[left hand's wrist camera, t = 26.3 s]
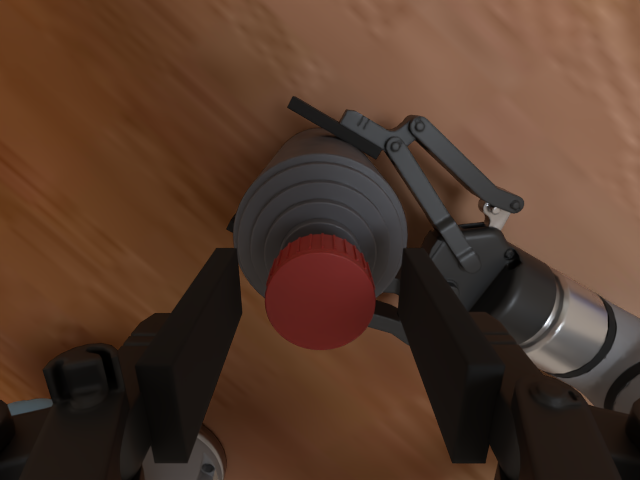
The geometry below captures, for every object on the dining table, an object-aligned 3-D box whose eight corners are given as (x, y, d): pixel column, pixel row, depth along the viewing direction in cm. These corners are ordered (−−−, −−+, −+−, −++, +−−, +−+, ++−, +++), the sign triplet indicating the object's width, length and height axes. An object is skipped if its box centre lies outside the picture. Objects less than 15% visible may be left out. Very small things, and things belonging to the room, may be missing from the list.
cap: (248, 276, 14) (239, 301, 13) (323, 211, 14) (323, 227, 12) (317, 339, 15) (317, 370, 14) (391, 282, 14) (400, 306, 13)
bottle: (297, 109, 31) (257, 127, 12) (385, 155, 32) (486, 242, 13) (257, 199, 34) (169, 337, 14) (340, 238, 35) (367, 415, 15)
